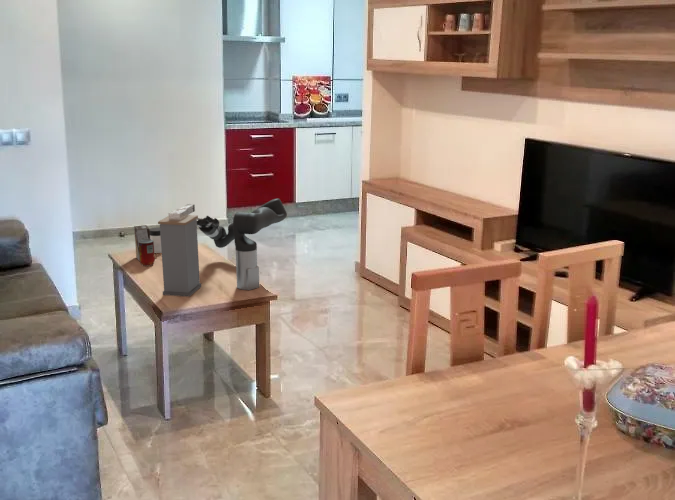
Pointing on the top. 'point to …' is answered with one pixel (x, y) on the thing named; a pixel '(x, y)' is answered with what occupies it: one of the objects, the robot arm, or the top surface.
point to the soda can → (146, 252)
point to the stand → (180, 256)
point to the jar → (156, 239)
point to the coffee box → (140, 236)
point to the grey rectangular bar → (181, 212)
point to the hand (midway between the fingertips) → (197, 217)
